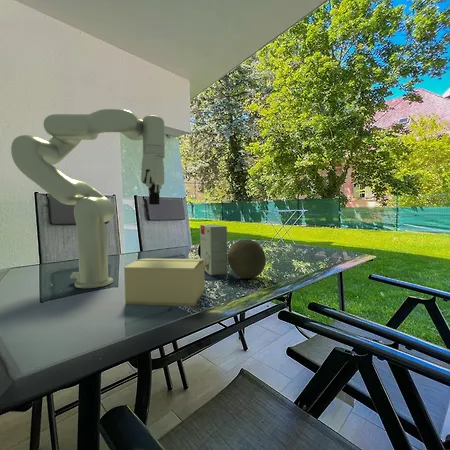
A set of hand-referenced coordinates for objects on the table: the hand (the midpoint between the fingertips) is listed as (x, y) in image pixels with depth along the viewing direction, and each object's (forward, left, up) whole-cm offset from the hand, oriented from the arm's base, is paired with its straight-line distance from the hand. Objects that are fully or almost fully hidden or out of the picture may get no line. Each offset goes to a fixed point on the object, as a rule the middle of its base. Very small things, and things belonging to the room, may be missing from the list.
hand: (154, 204), depth 97 cm
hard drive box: (+18, +21, -29) cm, 40 cm away
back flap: (+10, -12, -18) cm, 24 cm away
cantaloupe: (+33, +8, -29) cm, 44 cm away
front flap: (+10, -19, -18) cm, 28 cm away
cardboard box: (+10, -15, -29) cm, 34 cm away
